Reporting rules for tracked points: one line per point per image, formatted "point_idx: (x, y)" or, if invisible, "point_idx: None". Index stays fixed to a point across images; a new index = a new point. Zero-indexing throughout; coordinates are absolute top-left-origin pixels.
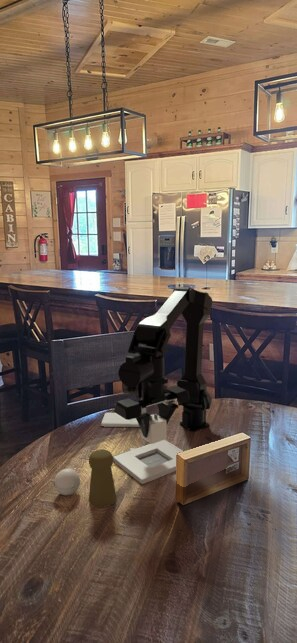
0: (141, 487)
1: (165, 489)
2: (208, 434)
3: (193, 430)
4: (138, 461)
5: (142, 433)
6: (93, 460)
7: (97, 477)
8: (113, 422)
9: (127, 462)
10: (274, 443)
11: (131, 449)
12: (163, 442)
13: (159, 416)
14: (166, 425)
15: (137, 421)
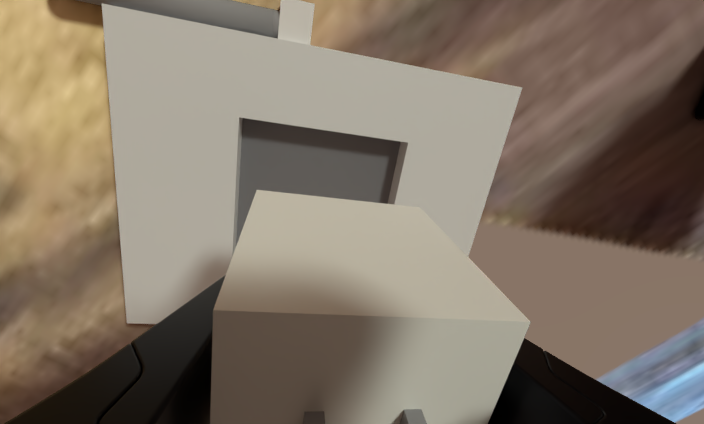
0: (123, 320)
1: None
2: (687, 188)
3: (699, 116)
4: (220, 184)
5: (215, 283)
6: None
7: None
8: None
9: (154, 147)
10: (696, 379)
11: (289, 19)
12: (485, 119)
13: (485, 412)
14: None
15: (80, 378)
